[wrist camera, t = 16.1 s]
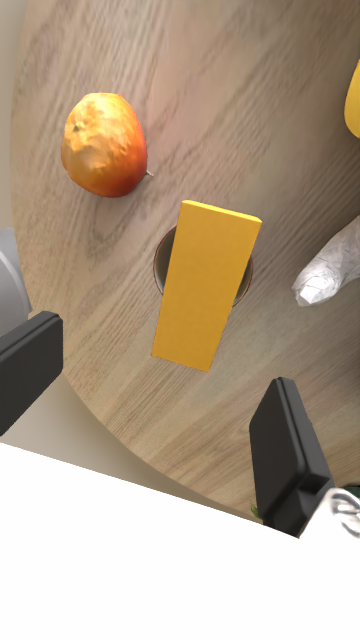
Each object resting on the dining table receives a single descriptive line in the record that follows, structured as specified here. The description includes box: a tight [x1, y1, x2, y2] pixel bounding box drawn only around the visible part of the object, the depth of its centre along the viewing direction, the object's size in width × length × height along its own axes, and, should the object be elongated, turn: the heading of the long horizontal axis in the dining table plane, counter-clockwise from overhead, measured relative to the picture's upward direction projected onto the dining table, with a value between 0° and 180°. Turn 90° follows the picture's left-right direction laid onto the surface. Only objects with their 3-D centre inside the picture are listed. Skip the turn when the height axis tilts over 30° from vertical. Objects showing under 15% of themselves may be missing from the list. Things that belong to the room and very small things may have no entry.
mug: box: [154, 226, 253, 307], centre depth 25 cm, size 11×8×10 cm
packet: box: [151, 200, 262, 372], centre depth 19 cm, size 12×5×3 cm, turn 167°
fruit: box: [61, 93, 153, 198], centre depth 24 cm, size 8×8×8 cm
